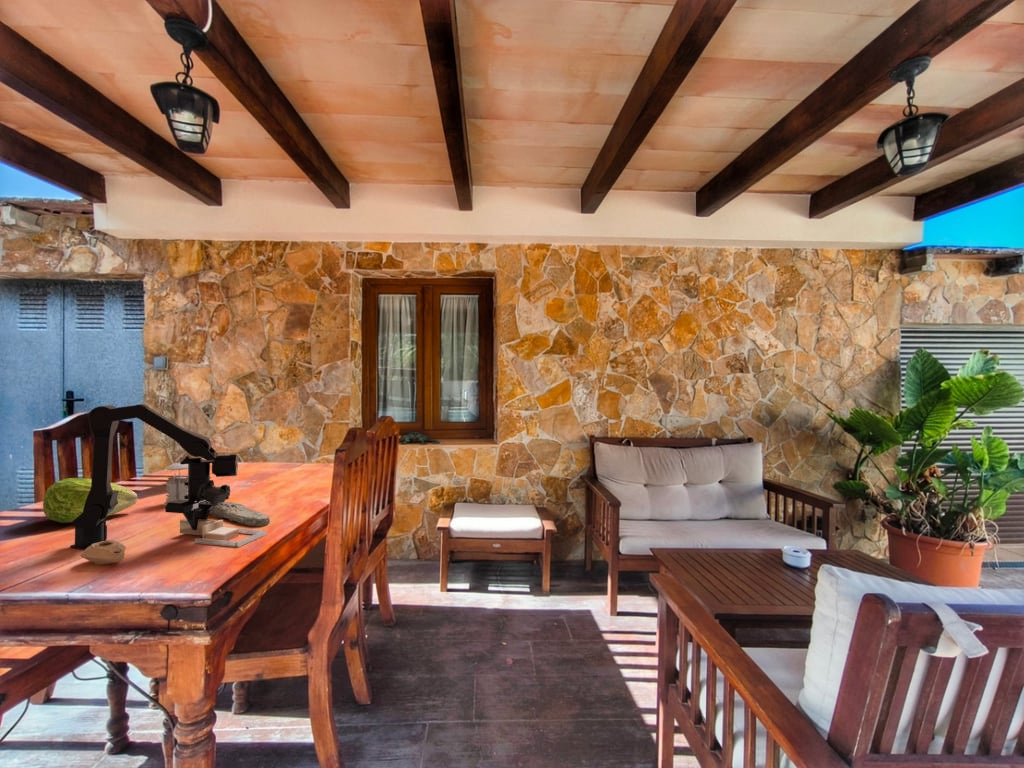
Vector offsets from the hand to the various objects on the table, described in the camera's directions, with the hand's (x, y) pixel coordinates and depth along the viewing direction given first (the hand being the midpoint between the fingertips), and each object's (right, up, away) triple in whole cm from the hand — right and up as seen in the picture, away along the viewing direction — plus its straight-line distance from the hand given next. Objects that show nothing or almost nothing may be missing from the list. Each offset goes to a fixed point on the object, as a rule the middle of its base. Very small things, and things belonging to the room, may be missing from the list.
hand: (198, 528), depth 154 cm
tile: (+8, -3, -2) cm, 9 cm away
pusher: (0, -1, 0) cm, 1 cm away
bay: (+11, -2, -2) cm, 12 cm away
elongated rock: (0, -2, +20) cm, 21 cm away
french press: (-30, -1, +36) cm, 47 cm away
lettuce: (-45, -1, +15) cm, 47 cm away
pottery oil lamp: (-9, -3, -24) cm, 26 cm away
